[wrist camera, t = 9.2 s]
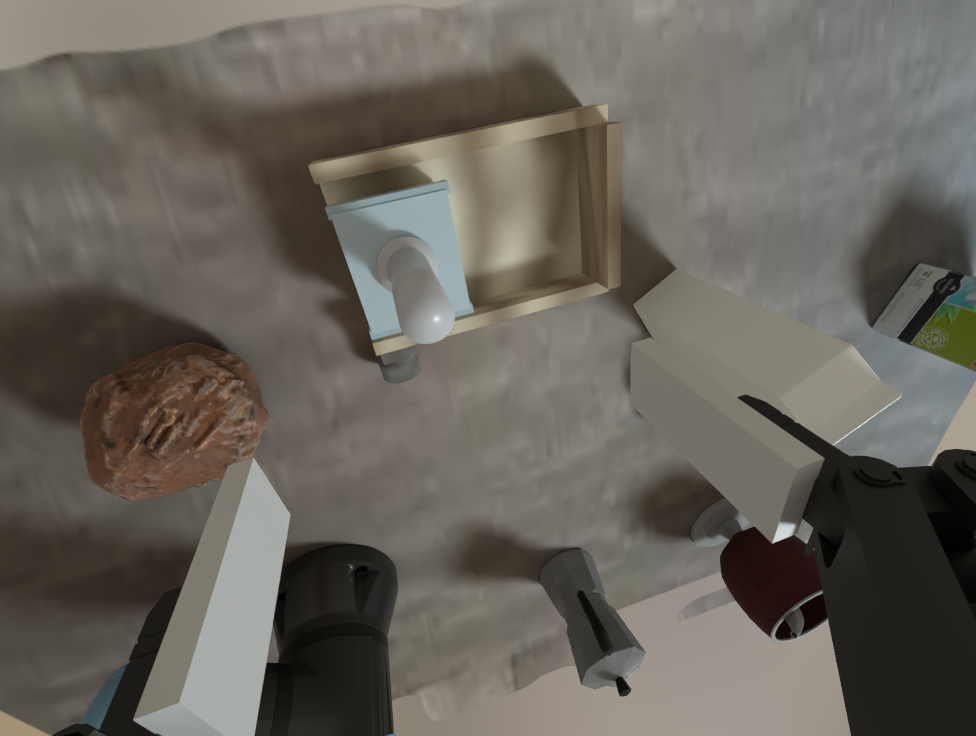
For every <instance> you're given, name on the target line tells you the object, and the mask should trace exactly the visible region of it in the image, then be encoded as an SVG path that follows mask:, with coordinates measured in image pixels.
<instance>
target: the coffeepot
mask: <svg viewBox="0 0 976 736" xmlns="http://www.w3.org/2000/svg"><path fill="white" fill-rule="evenodd" d="M540 583H541V584H542V586H543V588H544V589H545V591H546V592H547V594H548V596H549V597H550V599H551V601H552V602H553V604H554V605H555V607H556V609H557V610H558V612H559V613H560V615H561V616H562V617H563V618H565V621H566V623H567V625H568V627H567V634H568V638H569V642H570V645H571V649H572V652H573V656H574V660H575V663H576V667H577V671H578V674H579V678H580V682H581V685H584V686H587V687H590V688H593V689H597V688H600V687H604V686H607V685H608V686H611V687H613V686H617V689H618V692H619V695H620V696H627V695H628V694H629V693H630V692H631V688H630V687H629V686H628V684H627V683H626V681H625V680H626V678H627V676H628V675H629V674H630V673H632V672H633V671H635V670H636V669H637V668H639V666H640V664H641V662H642V660H643V658H644V656H645V654H646V652H645V651H644V649H643V648H642V647H641V645H640V644H639V643H638V641H637V640H636V638H635V637H634V636H633V634H632V633H631V631H630V630H629V629H628V627H627V626H626V624H625V623H624V622H623V620H622V619H621V617H620V616H619V615H618V614H617V612H616V611H615V609H614V608H612V607H611V606H610V605H608V603H607V601H606V599H605V592H604V589H603V586H602V583H601V580H600V577H599V575H598V572H597V569H596V566H595V563H594V560H593V558H592V556H591V555H589V554H588V553H587V552H586V551H584V550H581V549H571V550H567V551H563V552H561V553H559V554H557V555H555V556H554V557H552V558H551V559H550V560H549V561H547V562H546V564H545V565H544V566H543V568H542V570H541V573H540Z"/></svg>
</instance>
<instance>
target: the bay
mask: <svg viewBox="0 0 976 736" xmlns="http://www.w3.org/2000/svg"><path fill="white" fill-rule="evenodd" d="M308 167H309V170H310V173H311V176H312V178H313V181H314V184H320V187H321V190H322V193H323V195H324V198H325V201H326V204H327V205H332V204H336V203H341V202H345V201H350V200H354V199H359V198H363V197H368V196H372V195H377V194H381V193H386V192H390V191H395V190H400V189H404V188H409V187H413V186H418V185H422V184H427V183H431V182H436V181H440V180H447V181H448V185H449V190H450V193H449V194H448V198H449V203H450V208H451V213H452V218H453V222H454V227H455V232H456V237H457V242H458V247H459V252H460V257H461V262H462V267H463V272H464V277H465V282H466V286H467V291H468V296H469V299H470V301H471V302H472V305H473V310H474V313H470V314H466V315H463V316H459V317H455V322H454V325H453V328H452V329H451V331H450V332H449V334H448V335H447V336H450V335H454V334H457V333H461V332H465V331H468V330H472V329H475V328H479V327H483V326H486V325H490V324H493V323H497V322H501V321H504V320H508V319H511V318H515V317H519V316H522V315H526V314H530V313H533V312H537V311H540V310H544V309H548V308H551V307H555V306H558V305H562V304H566V303H569V302H573V301H576V300H580V299H584V298H587V297H591V296H595V295H598V294H602V293H605V292H609V289H613V288H616V287H620V286H621V192H622V122H608V104H600V105H590V106H581V107H576V108H571V109H566V110H562V111H557V112H552V113H547V114H542V115H537V116H532V117H527V118H522V119H517V120H513V121H508V122H503V123H498V124H493V125H488V126H483V127H478V128H473V129H468V130H464V131H459V132H454V133H449V134H444V135H439V136H434V137H429V138H424V139H419V140H415V141H410V142H405V143H400V144H395V145H390V146H385V147H380V148H375V149H370V150H365V151H361V152H356V153H351V154H346V155H341V156H336V157H331V158H326V159H321V160H316V161H313V162H311V163H310V164H309V165H308ZM418 344H421V343H417V342H414V341H412V340H410V339H409V338H407V337H406V336H405V335H404V333H403V332H400V333H396V334H393V335H389V336H385V337H382V338H378V339H374V340H372V345H373V347H374V352H375V355H376V358H377V361H378V363H379V366H380V369H381V372H382V374H383V377H384V379H385V381H387V382H390V383H401V382H405V381H408V380H410V379H412V378H414V377H415V376H416V375H417V374H418V373H419V372H420V370H421V366H420V363H419V359H418V356H417V353H416V349H415V346H414V345H418Z"/></svg>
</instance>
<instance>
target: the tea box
mask: <svg viewBox="0 0 976 736" xmlns="http://www.w3.org/2000/svg"><path fill="white" fill-rule="evenodd" d="M872 328H873V329H874V330H875V331H877V332H880V333H882V334H885V335H887V336H890V337H892V338H895V339H897V340H899V341H902V342H904V343H907V344H909V345H912V346H914V347H917V348H919V349H921V350H924V351H926V352H929V353H931V354H934V355H936V356H939V357H941V358H943V359H946V360H948V361H951V362H953V363H956V364H958V365H961V366H963V367H966V368H968V369H970V370H973V371H975V372H976V277H974V276H970V275H966V274H962V273H959V272H954V271H950V270H947V269H943V268H939V267H935V266H931V265H927V264H923V263H920V264H918V266H917V267H916V268H915V269H914V271H913V272H912V273H911V274H910V276H909V277H908V278H907V279H906V281H905V282H904V283H903V285H902V286H901V288H900V289H899V290H898V292H897V293H896V294H895V296H894V297H893V298H892V300H891V301H890V303H889V304H888V305H887V307H886V308H885V310H884V311H883V312H882V314H881V315H880V316H879V318H878V319H877V321H876V322H875V324H874V325H873V327H872Z"/></svg>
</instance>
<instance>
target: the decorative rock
mask: <svg viewBox="0 0 976 736" xmlns="http://www.w3.org/2000/svg"><path fill="white" fill-rule="evenodd" d="M85 396H86V399H85V406H84V409H83V411H82V414H81V419H80V431H81V433H82V435H83V440H84V447H85V459H86V467H87V469H88V471H89V477H90V479H91V480H92V482H93V483H95V484H97V485H98V486H100V487H101V488H103V489H105V490H106V491H108V492H110V493H112V494H114V495H118V496H120V497H121V498H123V499H125V500H129V501H133V502H134V501H143V500H146V499H151V498H158V497H163V496H167V495H171V494H175V493H178V492H180V491H183V490H185V489H187V488H190V487H203V486H205V485H207V484H208V482H210V481H214V480H221V479H223V478H224V475H225V472H226V470H227V467H228V465H231V464H235V463H238V462H241V461H244V460H248V459H251V458H252V456H253V453H254V451H255V449H256V447H257V445H258V444H259V442H260V435H261V434H262V432H263V431H264V430H265V429H266V428H267V421H268V419H269V417H270V416H269V413H268V411H267V409H266V408H265V407H264V406H263V403H262V398H261V392H260V387H259V384H258V380H257V376H256V374H255V373H254V372H253V371H252V370H251V369H250V368H249V367H248V366H247V364H246V363H245V362H244V361H243V360H242V359H241V358H240V357H239V356H238V355H237V354H235V353H229V352H225V351H222V350H219V349H217V348H214V347H211V346H208V345H205V344H201V343H195V342H190V343H185V344H181V345H173V346H168V347H166V348H164V349H162V350H159V351H156V352H153V353H151V354H149V355H147V356H144V357H140V358H139V359H138V360H135V361H132V362H130V363H127V364H125V365H124V366H122V367H121V368H120V369H118V370H117V371H115V372H112V373H111V374H108V375H106V376H103V377H102V378H100V379H98V380H97V381H95V382H94V383H93V384H92V385H91V387H90V389H89V391H88V393H87V394H86V395H85Z"/></svg>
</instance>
